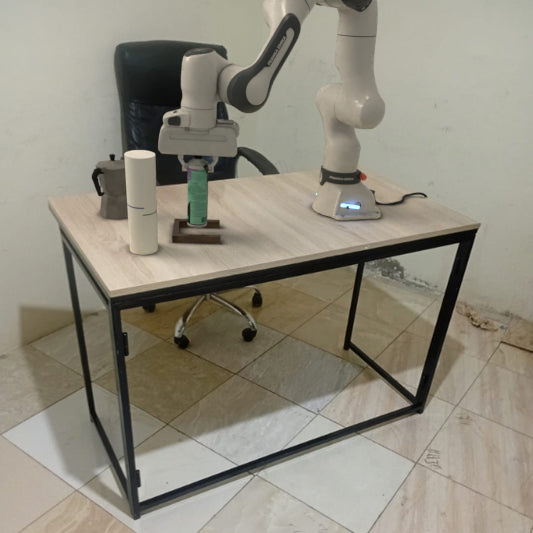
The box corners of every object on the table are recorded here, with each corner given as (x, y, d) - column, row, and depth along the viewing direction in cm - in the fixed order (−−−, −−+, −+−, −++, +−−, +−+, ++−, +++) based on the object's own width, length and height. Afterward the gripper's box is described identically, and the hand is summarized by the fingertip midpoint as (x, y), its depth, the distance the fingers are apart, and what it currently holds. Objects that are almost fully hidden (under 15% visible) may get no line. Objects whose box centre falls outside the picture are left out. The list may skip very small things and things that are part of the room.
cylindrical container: (132, 242, 134) (126, 149, 122) (159, 243, 135) (156, 150, 123) (127, 254, 128) (122, 157, 116) (156, 255, 128) (153, 159, 117)
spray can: (208, 221, 142) (210, 151, 133) (204, 228, 138) (206, 157, 128) (189, 219, 143) (190, 149, 133) (185, 226, 138) (185, 154, 128)
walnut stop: (219, 225, 148) (219, 219, 147) (220, 243, 137) (220, 237, 136) (174, 224, 146) (174, 218, 145) (172, 242, 136) (172, 235, 135)
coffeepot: (116, 203, 157) (112, 146, 148) (142, 209, 154) (140, 151, 145) (83, 220, 144) (76, 158, 135) (110, 227, 141) (105, 164, 133)
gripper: (239, 117, 131) (236, 169, 137) (158, 112, 128) (160, 165, 134) (240, 123, 125) (237, 176, 132) (156, 118, 122) (158, 173, 129)
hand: (197, 171), depth 133 cm, fingers closed on spray can, 5 cm apart
